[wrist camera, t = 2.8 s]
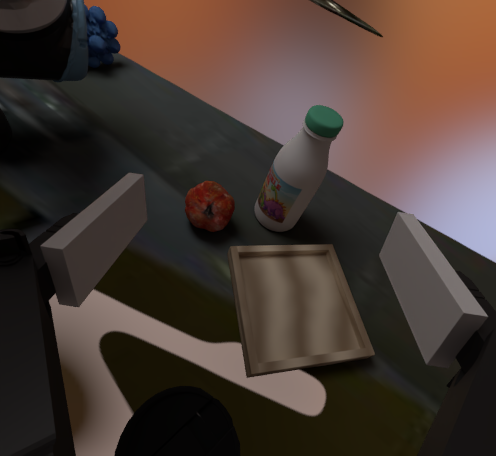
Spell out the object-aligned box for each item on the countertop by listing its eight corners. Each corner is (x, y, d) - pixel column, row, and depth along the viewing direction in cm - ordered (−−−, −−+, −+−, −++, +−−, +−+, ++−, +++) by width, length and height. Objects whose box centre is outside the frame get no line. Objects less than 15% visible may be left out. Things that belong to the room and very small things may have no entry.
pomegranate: (185, 209, 51) (166, 221, 41) (205, 170, 49) (190, 174, 39) (224, 230, 51) (214, 247, 41) (245, 193, 49) (239, 202, 40)
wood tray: (246, 377, 36) (251, 374, 34) (227, 253, 45) (230, 246, 43) (365, 358, 41) (375, 354, 39) (326, 251, 50) (332, 244, 48)
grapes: (75, 82, 59) (61, 13, 50) (60, 64, 61) (44, -5, 52) (131, 74, 65) (127, 11, 56) (115, 58, 67) (109, -5, 58)
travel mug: (116, 451, 29) (74, 456, 13) (174, 400, 32) (195, 356, 17) (153, 515, 27) (153, 609, 11) (210, 453, 31) (270, 459, 15)
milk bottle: (285, 196, 55) (338, 97, 40) (302, 230, 51) (367, 136, 36) (247, 199, 52) (287, 94, 37) (262, 236, 48) (314, 136, 33)
